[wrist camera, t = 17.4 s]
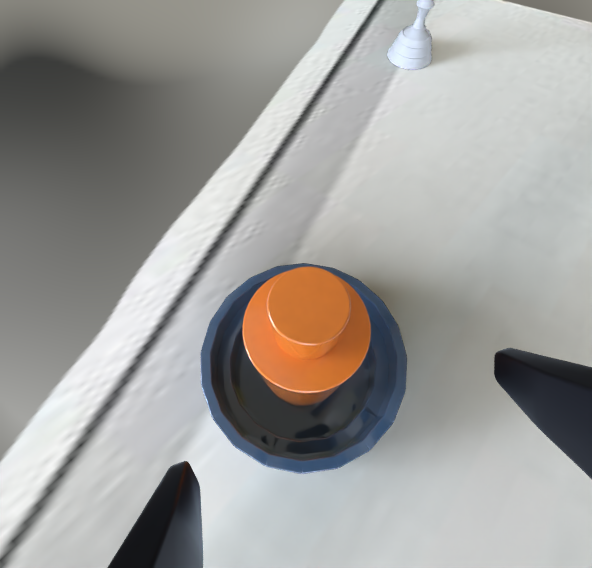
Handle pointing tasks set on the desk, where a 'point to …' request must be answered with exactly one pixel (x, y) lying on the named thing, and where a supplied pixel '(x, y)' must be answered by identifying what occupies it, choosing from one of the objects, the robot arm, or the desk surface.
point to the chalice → (413, 42)
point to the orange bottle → (306, 334)
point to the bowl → (295, 419)
